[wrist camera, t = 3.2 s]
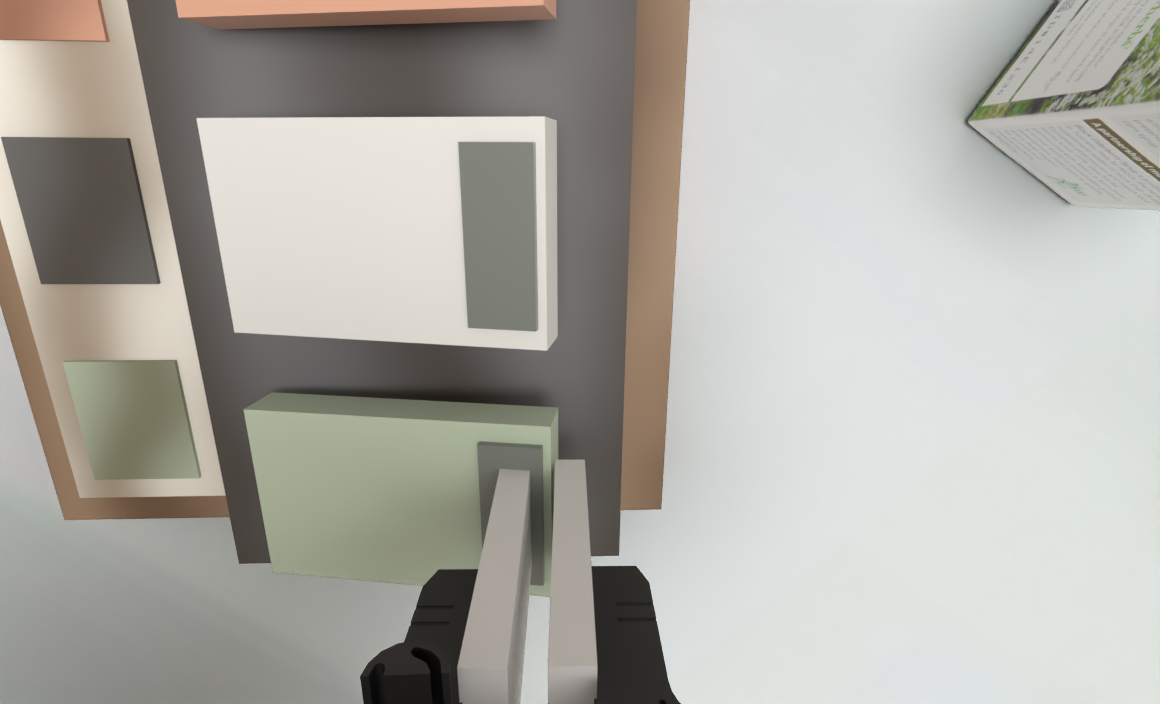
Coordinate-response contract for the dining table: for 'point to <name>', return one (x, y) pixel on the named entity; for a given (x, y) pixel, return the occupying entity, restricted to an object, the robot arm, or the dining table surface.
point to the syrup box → (1085, 104)
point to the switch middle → (388, 227)
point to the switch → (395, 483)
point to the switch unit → (296, 363)
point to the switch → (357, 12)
